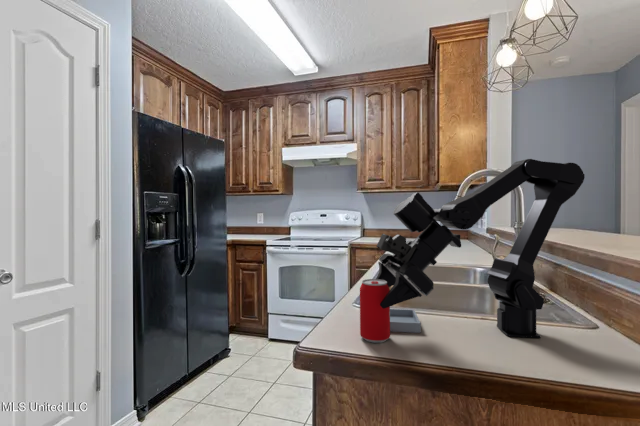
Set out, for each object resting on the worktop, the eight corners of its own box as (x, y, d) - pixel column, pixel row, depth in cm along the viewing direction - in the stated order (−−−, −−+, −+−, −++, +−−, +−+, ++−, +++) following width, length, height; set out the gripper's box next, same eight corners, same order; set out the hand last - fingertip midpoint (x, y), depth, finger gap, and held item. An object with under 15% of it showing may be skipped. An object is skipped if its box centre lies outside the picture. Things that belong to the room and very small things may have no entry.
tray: (414, 317, 81) (414, 309, 81) (420, 332, 71) (420, 323, 71) (373, 316, 83) (373, 308, 83) (374, 330, 73) (374, 321, 73)
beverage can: (388, 333, 71) (388, 278, 71) (391, 345, 65) (391, 285, 65) (359, 332, 72) (359, 278, 72) (360, 343, 66) (360, 284, 66)
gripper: (387, 219, 78) (341, 266, 77) (417, 222, 60) (357, 283, 59) (418, 252, 79) (374, 298, 78) (458, 264, 60) (400, 326, 59)
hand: (375, 300), depth 68 cm, fingers open, 9 cm apart
